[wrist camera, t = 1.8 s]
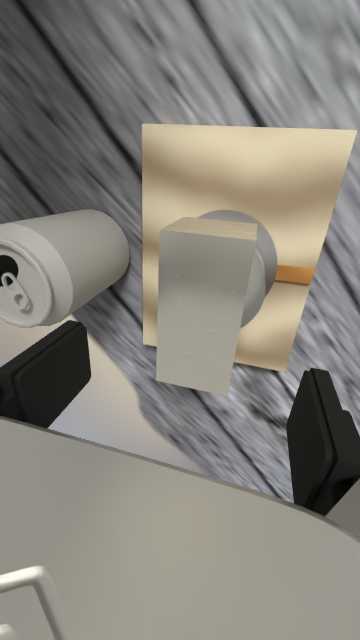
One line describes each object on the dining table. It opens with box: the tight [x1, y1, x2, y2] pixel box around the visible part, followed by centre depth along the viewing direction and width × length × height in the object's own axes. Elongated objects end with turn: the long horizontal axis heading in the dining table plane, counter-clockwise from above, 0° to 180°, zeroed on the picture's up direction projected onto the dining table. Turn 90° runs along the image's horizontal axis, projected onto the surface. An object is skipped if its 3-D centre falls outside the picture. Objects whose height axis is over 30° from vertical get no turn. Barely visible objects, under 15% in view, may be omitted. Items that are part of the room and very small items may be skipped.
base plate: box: [142, 124, 357, 372], centre depth 24 cm, size 20×15×2 cm
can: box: [0, 209, 130, 327], centre depth 23 cm, size 8×8×12 cm
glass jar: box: [156, 217, 265, 396], centre depth 19 cm, size 10×7×10 cm
